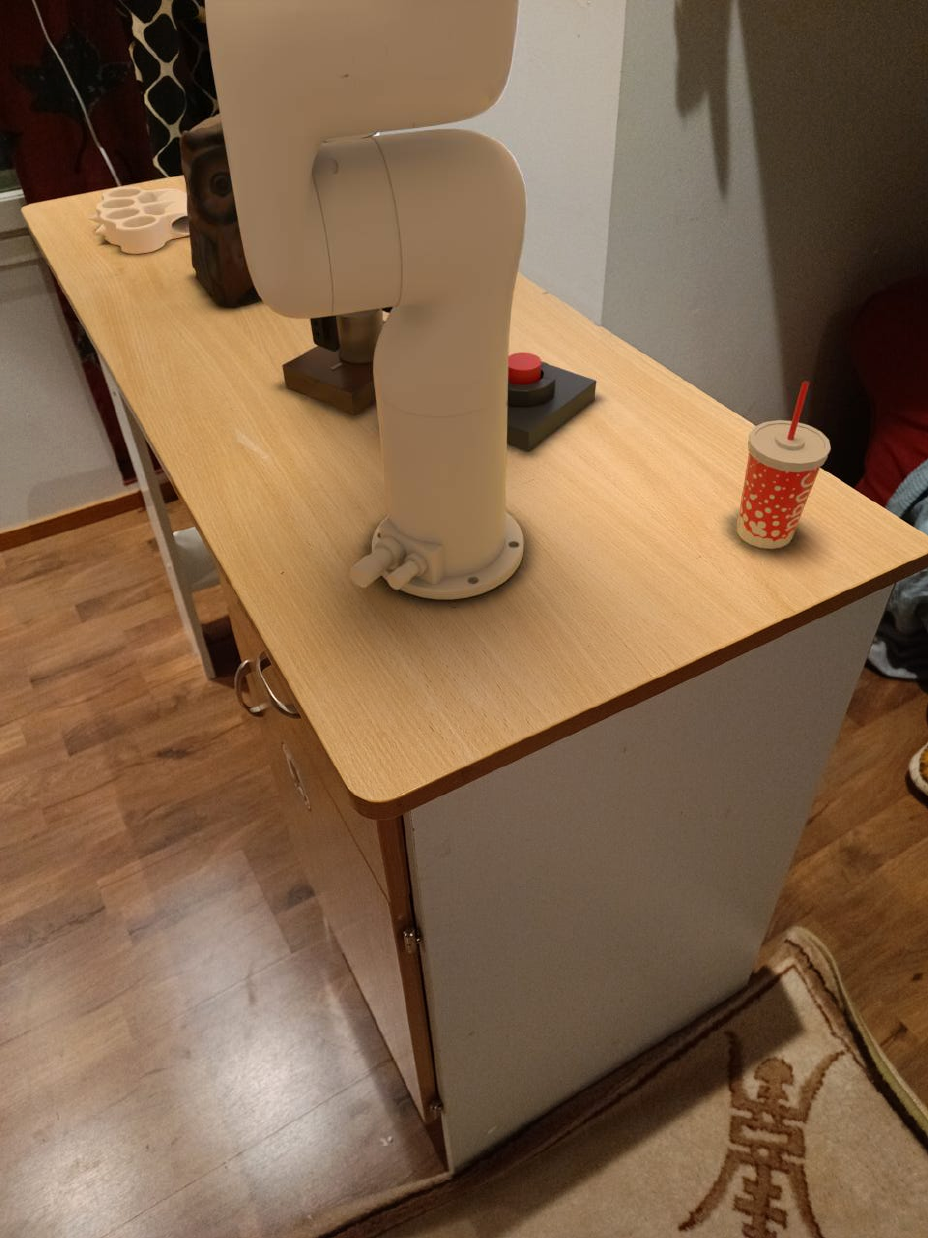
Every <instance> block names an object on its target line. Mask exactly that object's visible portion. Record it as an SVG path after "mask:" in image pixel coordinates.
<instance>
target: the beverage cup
mask: <svg viewBox="0 0 928 1238" xmlns="http://www.w3.org/2000/svg"><path fill="white" fill-rule="evenodd" d="M809 385H810V382H809V381H807V380H803V381H802V383H801V387H800V390H799V393H798V397H797V402H796V405H795V408H794V412H793V416H792V419H791V420H783V419H775V420H770V421H764V422H762V423H760V424H758V425H755V426H754V427H753V428H752V430H751V431H750V432H749V434H748V440H747V450H748V452H749V453H748V457H747V464H746V469H745V476H744V481H743V486H742V492H741V499H740V504H739V510H738V517H737V523H736V533H737V534H738V536H739V537H740V539H741V540H743V541H744V542H746V543H747V544H749V545H750V546H754V547H756V548H759V549H769V550H773V549H781V548H783V547H785V546H787V545H789V544H790V542H791V540H792V539H793V537H794V534H795V532H796V530H797V526H798V524H799V522H800V519H801V516H802V514H803V511H804V509H805V507H806V504H807V502H808V499H809V496H810V495H811V491H812V489H813V487H814V483H815V481H816V480H817V479H816V478H817V476H818V473H819V472H820V470H821V467H822V466H823V465H824V464H825V462H826V461H827V459H828V456H829V454H830V452H831V450H832V448H831V443H830V440H829V438H828V437H827V436H826V435H825V434H824V433H823V432H822V431H820V430H819V429H818V428H816V427H813V426H811V425H809V424H806V423H802V422H799V421H800V418H801V414H802V410H803V407H804V403H805V400H806V397H807V392H808V389H809V387H810V386H809Z"/></svg>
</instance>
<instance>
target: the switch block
mask: <svg viewBox="0 0 928 1238" xmlns="http://www.w3.org/2000/svg"><path fill="white" fill-rule="evenodd" d="M596 388H597V380H596V379H594V378H590V377H588V376H587V377H586V376H583V375H582V374H579V373H575V372H572V371H570V370H566V369H563V368H561V367H559V366H556V365H552V364H549V363H548V362H545V361H543V360H541V379H540V381H538V382H536V383H532V384H528V385H519V384H513V383H510V382H508V404H507V445H509V446H512V447H515V448H517V449H520V450H522V451H524V452H526V453H529V452H530V451H531V450H533V449H534V448H535V447H537V446H538V445H539V444H541V443H542V442H543V441H544V440H545V439H546V438H548V437H549V436H550V435H551V434H553V433H554V432H556V430H558V429H559V428H560V427H562V426H564V424H566V423H567V422H568V421H570V420H571V419H572V418H573V417H575V416H576V415H577V414H578V413H580V412H581V411H582V410H583V409H584V408H586V407H587V406H588V405H590V404H591V403H593V401H595V399H596Z"/></svg>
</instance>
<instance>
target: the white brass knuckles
mask: <svg viewBox="0 0 928 1238" xmlns="http://www.w3.org/2000/svg"><path fill="white" fill-rule="evenodd" d="M88 220H90V221H93V222H94V223H97V224H99V225H100V226H99V227H98V228H97V229H96V230H95V231H94V232H93V234H94V235H95V234H96V235H100V236H104V239H105V241H107V242H108V243H110V244H111V245H115V246H119V247H120V251H121V252H123V253H125V254H131V255H141V254H149V253H152V252H155V251H158V250H159V249H162V248H163V247H164V246H165V244H166V243H167V242H169V241H171V240H174V239H179V238H185V237H188V236H190V234H189V224H188V215H187V192H185V191H183V190H180V189H179V188H176V187H175V188H173V187H172V188H171V187H169V188H167V187H163V188H157V189H143V188H142V187H138V186H121V187H115V188H112V189H108V190H106V191H104V192H103V193H102V194H101V201H100V202H98V203H97V205H96V207H95V214H92V216H91V217H89V218H88Z"/></svg>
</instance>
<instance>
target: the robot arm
mask: <svg viewBox="0 0 928 1238" xmlns="http://www.w3.org/2000/svg"><path fill="white" fill-rule="evenodd" d="M521 2H522V0H204V10H205V11H204V12H205V22H206V23H205V25H206V33H207V39H208V46H209V54H210V63H211V68H212V75H213V81H214V86H215V92H216V93H215V94H216V98H217V103H218V110H219V113H220V116H221V122H222V128H223V134H224V139H225V145H226V151H227V157H228V163H229V169H230V175H231V180H232V186H233V192H234V198H235V204H236V210H237V216H238V222H239V228H240V233H241V238H242V244H243V249H244V254H245V258H246V262H247V265H248V269H249V272H250V275H251V278H252V281H253V283H254V286H255V288H256V290H257V292H258V294H259V296H260V297H261V299H262V300H261V301H262V302H263V303H264V304H265V306H267V307H268V308H269V309H270V310H271V311H272V312H274V313H275V314H277V315H279V316H282V317H285V318H287V319H295V320H307V319H308V320H309V321H310V327H311V335H312V340H313V343H314V344H315V345H316V346H320V347H323V348H325V349H328V350H330V351H333V352H336V351H338V350H339V348H340V343H339V335H338V327H337V319H336V315H341V314H347V313H354V312H360V311H367V310H373V309H380V308H382V312H385V313H387V314H388V315H387V317H386V319H385V320H384V321H385V323H384V325H383V327H382V330H381V332H380V335H379V337H378V340H377V344H376V348H375V353H374V360H373V375H374V386H375V392H376V402H375V403H376V412H377V421H378V430H379V431H378V432H379V433H378V434H379V440H380V450H381V451H380V452H381V462H382V471H383V482H384V491H385V492H384V493H385V502H386V503H385V504H386V510H387V511H386V512H387V516H385V517H384V518H383V520H381V522H379V524H378V526H377V527H376V529H375V531H374V532H373V536H372V539H371V553H370V554H368V555H364V557H362V558H361V559H360V560H358V561H357V562H356V563H354V564H353V565H352V566H351V567H350V568H349V570H348V571H349V576H350V578H351V581H353V582H354V584H355V585H356V586H357V587H359V588H361V589H366V588H367V587H369V586H370V585H371V584H372V583H373V582H375V581H376V580H377V579H379V578H380V577H382V578H383V579H384V580H385V581H386V582H387V583H388V585H389V586H390V587H391V588H392V589H394V590H396V591H398V590H400V591H403V592H404V593H407V594H410V595H413V596H417V597H420V598H423V599H424V598H425V599H432V600H459V599H467V598H470V597H471V598H472V597H474V596H478V595H481V594H484V593H487V592H489V591H491V590H493V589H495V588H497V587H499V586H500V585H502V584H503V583H505V582H507V580H509V578H511V577H512V576H513V575H514V574H515V573H516V571H517V570H518V568H519V567H520V565H521V562H522V559H523V556H524V546H525V542H524V541H525V540H524V534H523V531H522V529H521V526H520V525H519V523H518V521H516V519H515V518H514V517H513V516H512V515H511V514H510V513H509V512H508V511H506V509H507V508H506V507H507V505H506V503H507V501H506V500H507V456H508V454H507V453H508V452H507V451H508V450H507V449H508V444H507V404H508V359H509V355H510V352H509V351H510V335H511V322H512V321H511V320H512V309H513V301H514V295H515V289H516V283H517V277H518V274H519V273H518V272H519V268H520V262H521V258H522V253H523V248H524V243H525V235H526V229H527V221H528V220H527V218H528V198H527V189H526V188H527V187H526V183H525V179H524V175H523V172H522V169H521V167H520V165H519V163H518V161H517V159H516V157H515V156H514V154H513V152H511V150H510V149H509V148H508V147H506V146H505V145H504V144H503V143H502V142H501V141H499V140H498V139H496V138H495V137H493V136H491V135H489V134H486V133H484V132H480V131H476V130H471V129H464V128H463V129H462V128H435V129H424V130H414V131H405V132H397V133H389V134H382V135H381V133H387V132H394V131H395V132H396V131H403V130H412V129H420V128H421V129H422V128H429V127H436V126H442V125H447V124H452V123H458V122H462V121H466V120H470V119H473V118H475V117H478V116H481V115H483V114H485V113H487V112H488V111H490V110H491V109H493V108H494V107H495V106H496V105H497V104H498V103H499V101H500V100H501V98H502V97H503V95H504V93H505V91H506V90H507V87H508V85H509V82H510V78H511V75H512V71H513V67H514V60H515V55H516V50H517V41H518V34H519V25H520V13H521V4H522V3H521Z"/></svg>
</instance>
